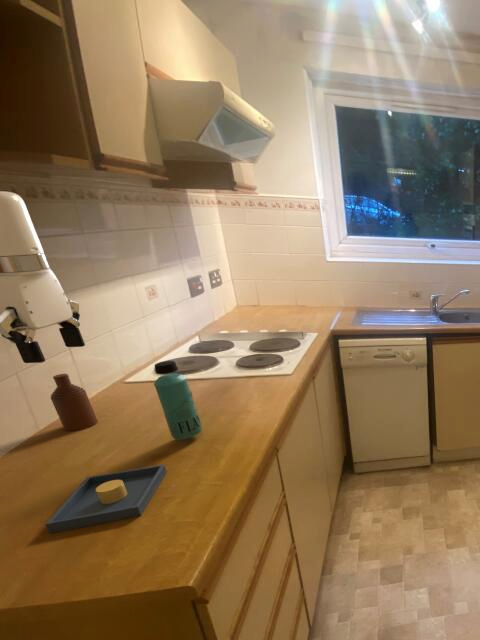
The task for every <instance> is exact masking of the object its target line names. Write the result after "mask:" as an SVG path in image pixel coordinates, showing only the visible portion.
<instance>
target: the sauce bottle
mask: <svg viewBox="0 0 480 640" xmlns="http://www.w3.org/2000/svg"><path fill="white" fill-rule="evenodd" d="M52 379H53V380H54V383H55V385H56V388H55V389H54V391H53V392H52V393H51V395H50V400H51V403H52V405H53V407H54V410H55V412H56V414H57V416H58V418H59V421H60V423H61V425H62V427H63V429H64V431H66V432H76V431H82V430H85V429H89V428H91V427H93V426H95V425H96V424H98V423H99V421H98V419H97V416H96V413H95V411H94V408H93V405H92V404H91V401H90V399H89V397H88V394H87V391H86V390H85V389H84V388H83V387H80V386H78V385H75V384H74V383H72V382H71V379H70V376H69V374H68V373H59V374H56V375H53V376H52Z"/></svg>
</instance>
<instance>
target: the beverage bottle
mask: <svg viewBox="0 0 480 640" xmlns="http://www.w3.org/2000/svg"><path fill="white" fill-rule="evenodd" d="M154 369H155V370H154V371H155V373H156V374H157V375H160V376H159V377H158V378H156V380H155V381H154V382H153V386H154V388H155V391H156V393H157V396H158V399H159V402H160V405H161V408H162V411H163V415H164V417H165V420H166V421H165V422H166V424H167V427H168V430H169V432H170V435H171V437H172V439H174V440H185V439H186V440H187V439H190V438H193V437H196V436H198V435H200V434H201V432H202V430H203V426H202V422H201V420H200V416H199V413H198V408H197V407H196V405H195V404H196V403H195V401H194V397H193V393H192V390H191V388H190V385H189V383H188V378H187V377H186V376H185V375H183V374H180V373H178V372H177V371H179V367H178V365H177V363H176V361H174V360H164V361H159V362H157V363H155V364H154ZM174 372H177V373H174Z"/></svg>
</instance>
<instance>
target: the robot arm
mask: <svg viewBox="0 0 480 640" xmlns="http://www.w3.org/2000/svg"><path fill="white" fill-rule="evenodd" d="M27 208H28V207H27V206H26V203H25V201H24V199H23V198H22V197H21V196H20V195H19V194H18V193H15V192H12V191H3V190H2V191H0V334H1V337H3V338H4V339H6V340H8V341H9V342H10V343H11V344H15V346H16V348H17V351H18V353H19V355H20V357H21V360H22V362H23V363H25V364H39V363H40V364H41V363H44V362H46V358H45V356H44V354H43V351H42V348H41V346H40V344H39V342H38V341H37V340H35V341H34V338H35V336H36V335H35V334H36V330H41V329H44V328H48V327H52V326H55V325H58V326H59V328H58V331H59V333H60V335H61V338H62V340H63V343H64V345H65V347H67V348H82V347H85V346H86V343H85V340H84V338H83V336H82V333H81V330H80V326H81V323H80V322H79V320H80V317H81V314H80V313H79V312H80V304H79V302H76V301H73V300H70V299H68V297H67V295H66V293H65V291H64V289H63V287H62V285H61V283H60V281H59V279H58V278H57V276H56V274H55V273H54V272H53V270H52V268H51V267H50V264H49V262H48V259H47V256H46V254H45V251H44V249H43V246H42V244H41V241H40V238H39V236H38V233H37V231H36V228H35V226H34V223H33V221H32V219H31V216H30V213H29V211H28V209H27ZM23 332H24V334H23Z"/></svg>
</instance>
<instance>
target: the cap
mask: <svg viewBox="0 0 480 640" xmlns="http://www.w3.org/2000/svg"><path fill="white" fill-rule="evenodd" d="M96 492H97V495H98V497H99V499H100V501H101V503H103V504H110V503H114V502H117V501H119V500H121V499H123V498H125V497H126V496H127V494H128V493H127V490H126V488H125V485H124V483H123V481H122V480H112V481H108V482H106V483H103V484H101V485H100V486H98V487H97V488H96Z"/></svg>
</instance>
